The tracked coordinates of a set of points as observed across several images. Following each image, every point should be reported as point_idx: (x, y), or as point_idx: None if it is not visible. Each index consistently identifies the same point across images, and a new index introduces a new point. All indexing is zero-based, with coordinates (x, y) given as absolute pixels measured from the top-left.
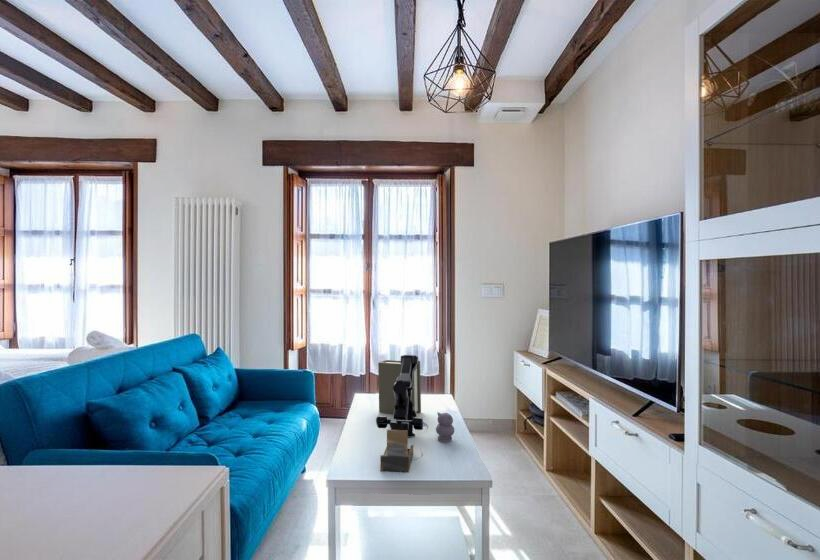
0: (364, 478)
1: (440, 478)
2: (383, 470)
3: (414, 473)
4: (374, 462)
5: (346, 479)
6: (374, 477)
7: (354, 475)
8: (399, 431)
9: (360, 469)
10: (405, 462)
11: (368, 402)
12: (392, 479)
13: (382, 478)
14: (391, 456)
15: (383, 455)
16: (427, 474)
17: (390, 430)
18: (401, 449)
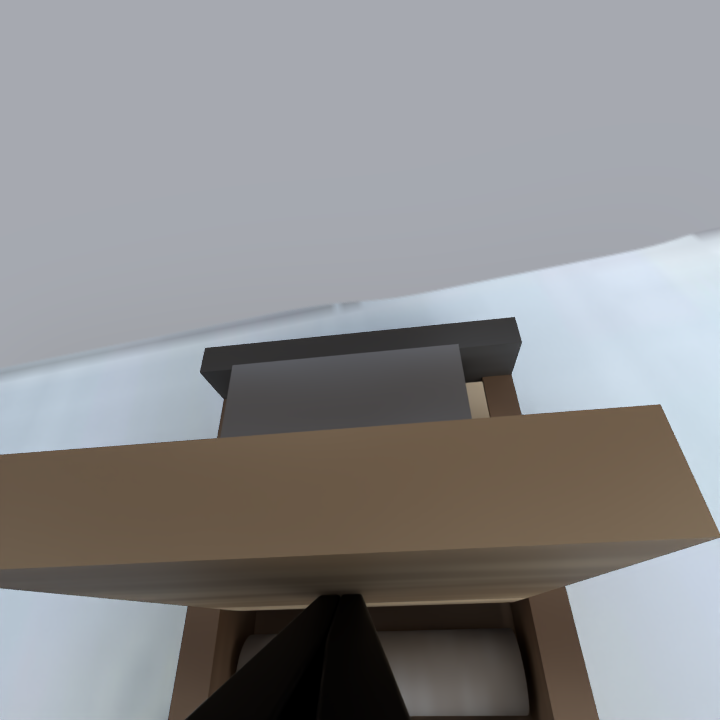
0: (562, 278)
1: (47, 381)
2: None
3: (213, 413)
4: (644, 572)
5: (681, 242)
6: (498, 303)
7: (664, 296)
8: (184, 449)
9: (686, 390)
10: None
11: None
12: (365, 306)
13: (436, 303)
14: (389, 339)
15: (488, 341)
16: (118, 418)
17: (523, 438)
18: (261, 368)
